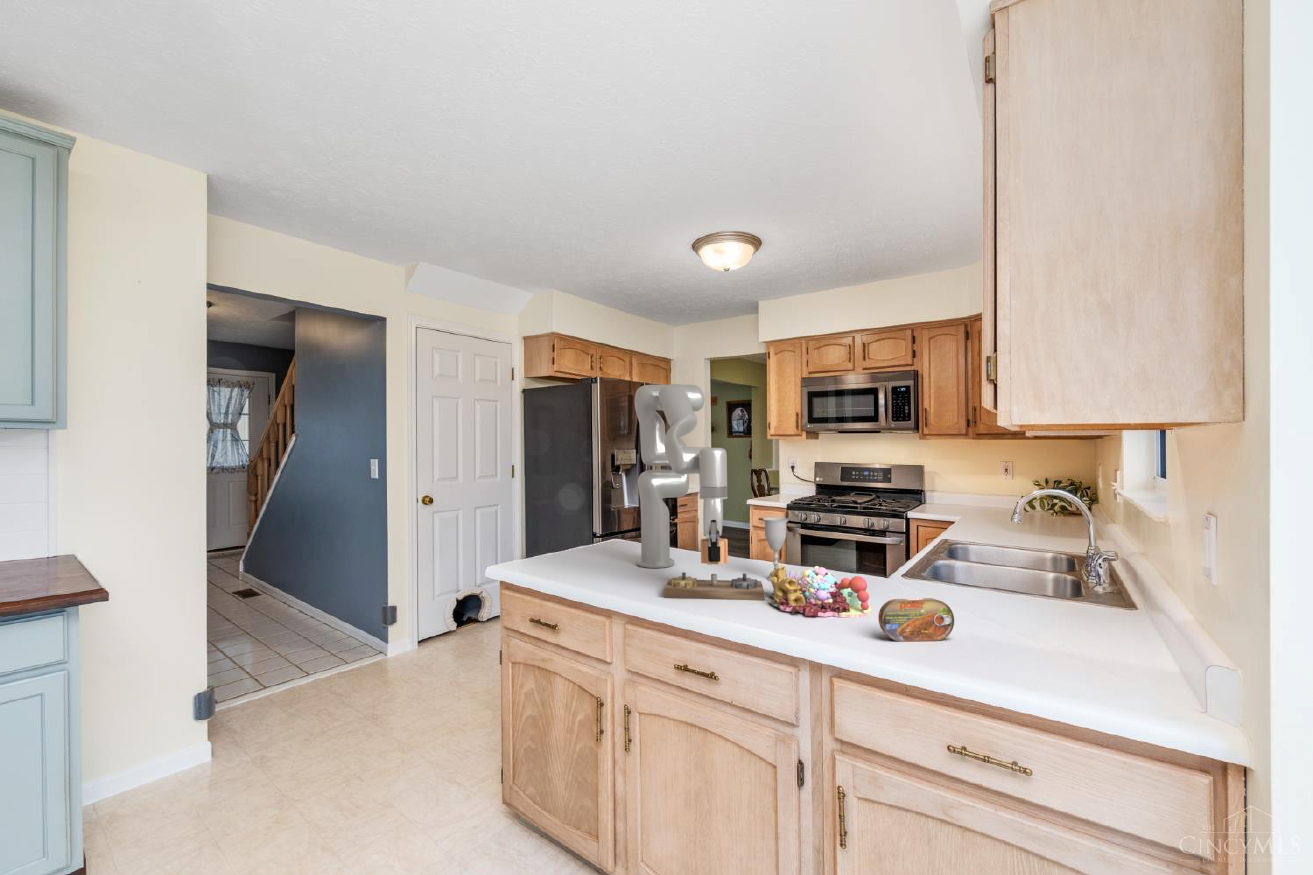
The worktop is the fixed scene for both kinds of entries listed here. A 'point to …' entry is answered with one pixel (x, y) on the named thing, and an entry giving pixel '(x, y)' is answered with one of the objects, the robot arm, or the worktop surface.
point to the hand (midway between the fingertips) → (714, 558)
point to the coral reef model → (819, 593)
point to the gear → (723, 551)
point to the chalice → (775, 536)
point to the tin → (916, 619)
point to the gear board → (714, 588)
